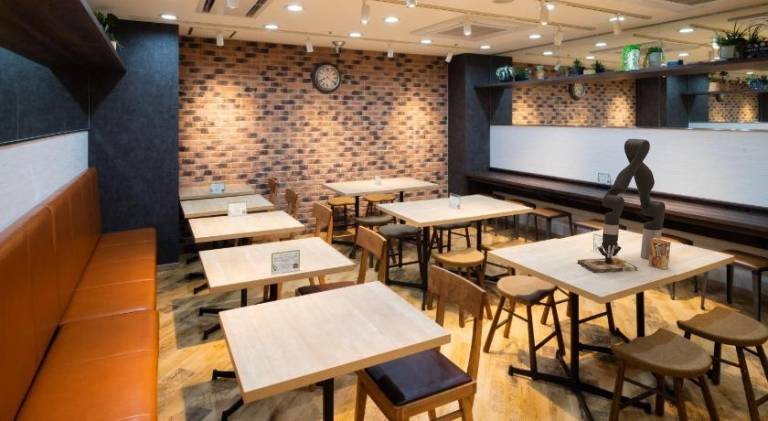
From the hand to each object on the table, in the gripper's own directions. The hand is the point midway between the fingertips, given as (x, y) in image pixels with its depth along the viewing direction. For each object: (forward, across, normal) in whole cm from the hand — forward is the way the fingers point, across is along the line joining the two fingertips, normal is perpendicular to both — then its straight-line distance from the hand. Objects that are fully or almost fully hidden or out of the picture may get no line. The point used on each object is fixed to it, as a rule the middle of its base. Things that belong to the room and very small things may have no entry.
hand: (607, 263), depth 259 cm
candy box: (+3, -28, +2) cm, 29 cm away
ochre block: (+1, -5, 0) cm, 5 cm away
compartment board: (+3, -2, -4) cm, 5 cm away
